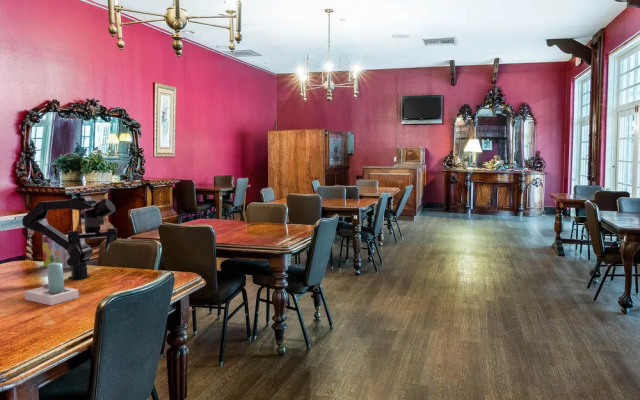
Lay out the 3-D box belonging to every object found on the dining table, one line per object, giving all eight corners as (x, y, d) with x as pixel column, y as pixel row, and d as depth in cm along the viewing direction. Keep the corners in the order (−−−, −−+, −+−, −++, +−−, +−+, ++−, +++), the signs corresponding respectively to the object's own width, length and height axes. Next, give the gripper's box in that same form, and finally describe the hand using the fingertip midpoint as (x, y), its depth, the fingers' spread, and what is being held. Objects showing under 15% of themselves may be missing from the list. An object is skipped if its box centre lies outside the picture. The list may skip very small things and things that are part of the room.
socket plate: (24, 299, 190) (24, 289, 190) (52, 291, 200) (52, 282, 199) (51, 305, 182) (50, 295, 182) (78, 297, 192) (78, 288, 192)
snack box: (86, 267, 242) (85, 235, 241) (77, 269, 237) (76, 237, 235) (52, 264, 249) (50, 233, 248) (42, 266, 244) (40, 235, 242)
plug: (46, 299, 189) (44, 264, 188) (59, 296, 193) (57, 262, 192) (54, 301, 186) (52, 265, 185) (67, 297, 191) (65, 263, 189)
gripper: (66, 211, 207) (67, 242, 198) (115, 209, 215) (119, 239, 206) (67, 228, 215) (69, 259, 206) (115, 225, 223) (118, 254, 214)
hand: (94, 252), depth 208 cm, fingers open, 9 cm apart
